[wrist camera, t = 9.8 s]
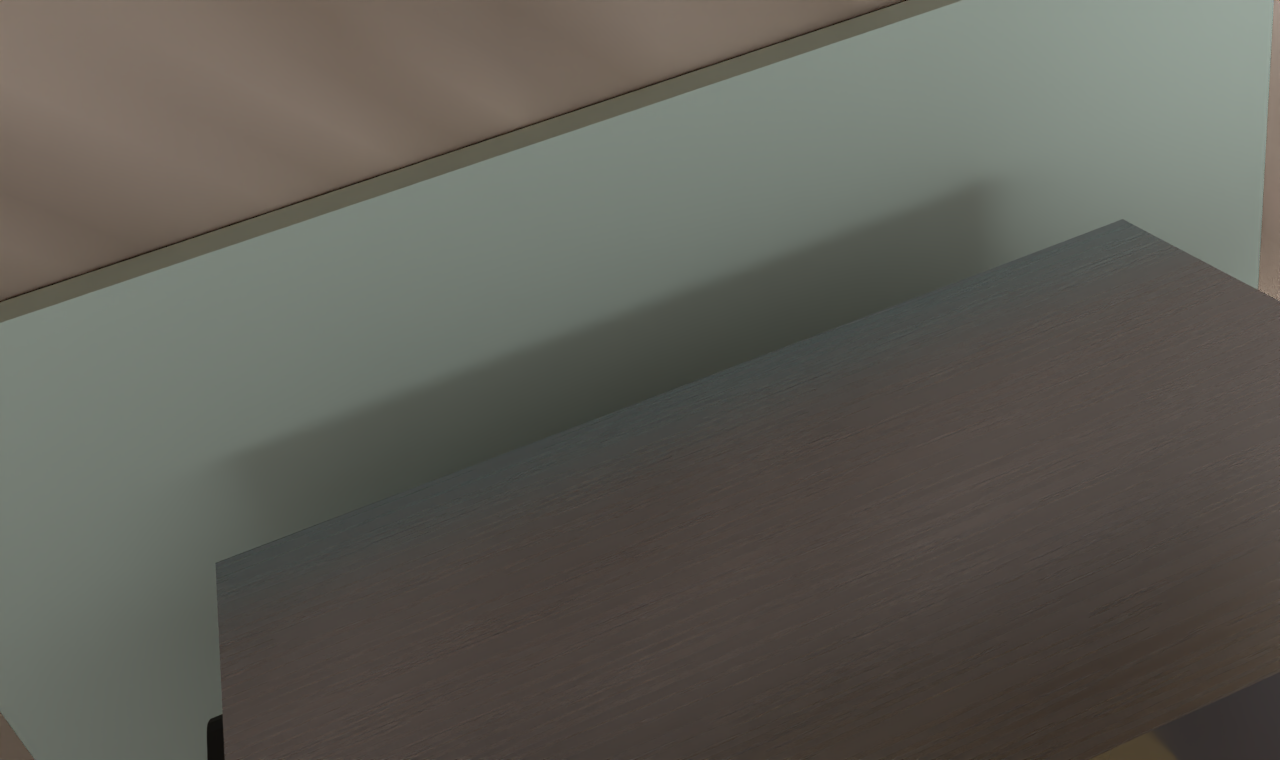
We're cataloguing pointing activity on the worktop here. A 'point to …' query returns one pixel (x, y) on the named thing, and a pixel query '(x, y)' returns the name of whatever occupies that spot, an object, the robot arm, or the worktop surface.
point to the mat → (560, 302)
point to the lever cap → (828, 551)
